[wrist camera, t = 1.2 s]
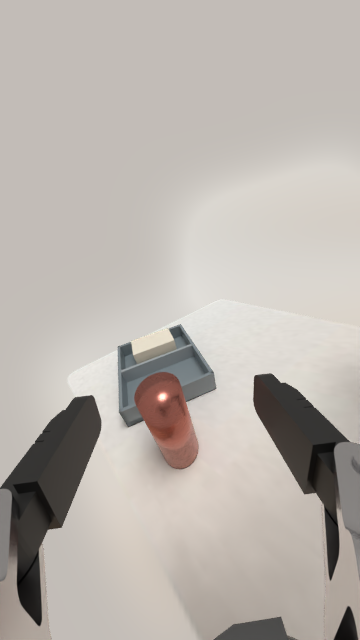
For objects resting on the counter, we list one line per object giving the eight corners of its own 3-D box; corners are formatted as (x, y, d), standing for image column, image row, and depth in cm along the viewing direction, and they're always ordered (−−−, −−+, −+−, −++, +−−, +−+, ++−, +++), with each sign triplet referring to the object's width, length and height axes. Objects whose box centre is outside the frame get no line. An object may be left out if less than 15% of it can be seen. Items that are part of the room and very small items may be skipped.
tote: (183, 336, 53) (180, 324, 50) (216, 388, 36) (213, 372, 33) (123, 358, 50) (117, 346, 47) (128, 426, 33) (119, 412, 30)
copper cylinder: (190, 423, 31) (173, 366, 24) (204, 458, 26) (187, 400, 19) (160, 437, 30) (132, 382, 23) (168, 476, 25) (136, 422, 18)
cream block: (172, 342, 50) (167, 327, 47) (178, 355, 45) (174, 340, 42) (137, 355, 48) (131, 341, 45) (140, 370, 43) (133, 355, 40)
